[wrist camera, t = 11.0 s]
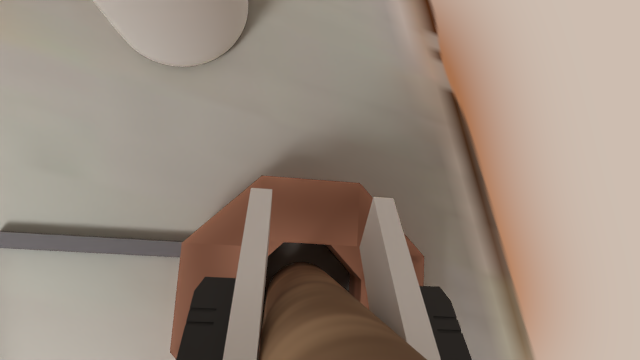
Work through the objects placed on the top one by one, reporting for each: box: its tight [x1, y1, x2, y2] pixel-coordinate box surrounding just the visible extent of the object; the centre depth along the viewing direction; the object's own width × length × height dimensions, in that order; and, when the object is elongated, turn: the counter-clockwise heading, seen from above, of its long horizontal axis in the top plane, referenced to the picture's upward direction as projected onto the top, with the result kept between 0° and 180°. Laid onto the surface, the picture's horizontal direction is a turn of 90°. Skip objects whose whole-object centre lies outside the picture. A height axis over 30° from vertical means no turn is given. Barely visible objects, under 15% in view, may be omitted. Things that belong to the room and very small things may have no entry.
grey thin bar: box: [0, 231, 182, 257], centre depth 20 cm, size 10×1×1 cm, turn 87°
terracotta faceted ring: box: [170, 176, 424, 359], centre depth 20 cm, size 12×12×3 cm
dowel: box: [259, 262, 427, 360], centre depth 12 cm, size 4×4×16 cm
